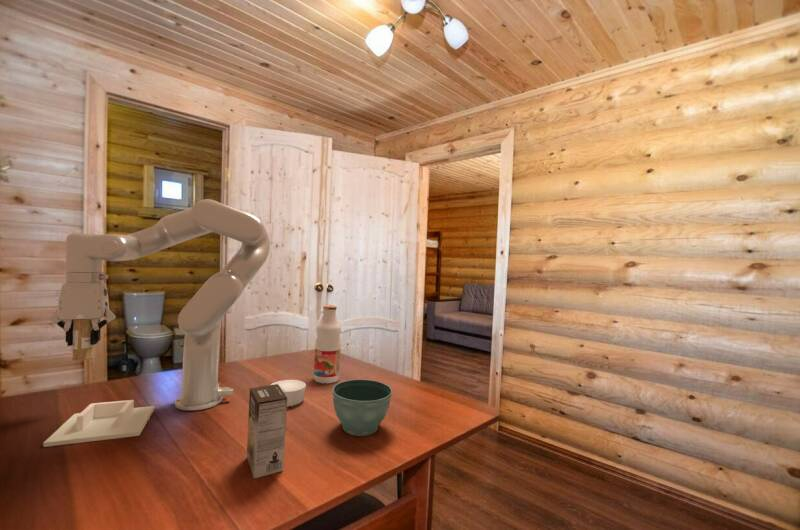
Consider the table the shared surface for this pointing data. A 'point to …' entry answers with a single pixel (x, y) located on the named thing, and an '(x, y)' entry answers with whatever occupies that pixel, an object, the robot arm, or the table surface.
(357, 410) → the flower pot
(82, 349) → the sprinkles bottle
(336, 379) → the fruit juice
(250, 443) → the coffee box
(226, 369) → the table surface
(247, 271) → the robot arm
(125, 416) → the u rest
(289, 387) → the ramekin
